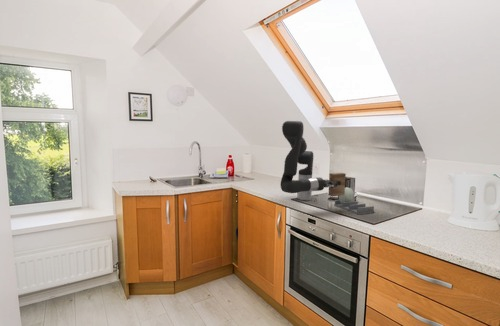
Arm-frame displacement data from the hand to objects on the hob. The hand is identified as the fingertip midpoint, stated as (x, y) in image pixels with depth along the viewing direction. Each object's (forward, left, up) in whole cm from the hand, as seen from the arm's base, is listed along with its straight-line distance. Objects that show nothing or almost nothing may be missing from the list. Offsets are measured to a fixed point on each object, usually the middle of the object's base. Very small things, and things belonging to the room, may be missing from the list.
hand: (338, 182), depth 167 cm
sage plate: (-5, +11, -17) cm, 20 cm away
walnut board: (0, -1, -8) cm, 8 cm away
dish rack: (+2, +11, -17) cm, 20 cm away
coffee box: (-16, +21, -17) cm, 31 cm away
